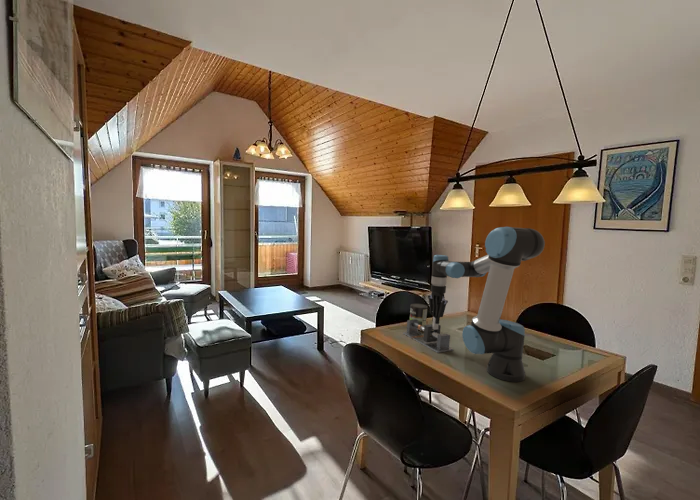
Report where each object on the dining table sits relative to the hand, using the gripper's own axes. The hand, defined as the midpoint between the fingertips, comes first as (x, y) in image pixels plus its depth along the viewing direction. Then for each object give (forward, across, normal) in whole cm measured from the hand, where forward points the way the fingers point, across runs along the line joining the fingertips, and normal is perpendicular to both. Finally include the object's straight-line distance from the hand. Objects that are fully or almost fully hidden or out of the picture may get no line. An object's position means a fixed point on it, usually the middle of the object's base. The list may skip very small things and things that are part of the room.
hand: (435, 329), depth 176 cm
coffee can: (+9, +27, -10) cm, 30 cm away
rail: (+9, +6, 0) cm, 11 cm away
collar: (+7, +2, 0) cm, 7 cm away
